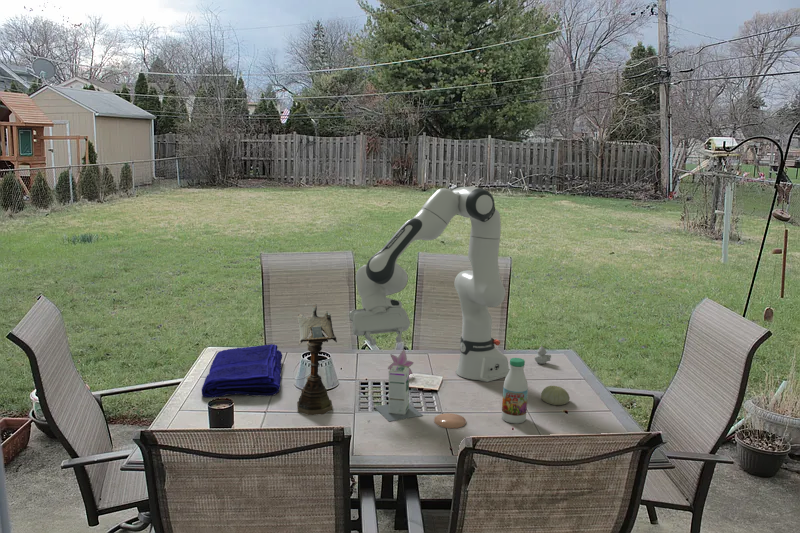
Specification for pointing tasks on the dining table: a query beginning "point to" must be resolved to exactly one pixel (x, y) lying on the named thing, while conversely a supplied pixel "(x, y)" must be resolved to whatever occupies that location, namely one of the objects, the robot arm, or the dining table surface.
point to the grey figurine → (542, 356)
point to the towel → (244, 372)
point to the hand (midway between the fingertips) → (386, 343)
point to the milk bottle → (515, 393)
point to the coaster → (450, 420)
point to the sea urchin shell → (555, 395)
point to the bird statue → (315, 362)
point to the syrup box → (398, 390)
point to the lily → (401, 361)
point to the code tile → (393, 417)
